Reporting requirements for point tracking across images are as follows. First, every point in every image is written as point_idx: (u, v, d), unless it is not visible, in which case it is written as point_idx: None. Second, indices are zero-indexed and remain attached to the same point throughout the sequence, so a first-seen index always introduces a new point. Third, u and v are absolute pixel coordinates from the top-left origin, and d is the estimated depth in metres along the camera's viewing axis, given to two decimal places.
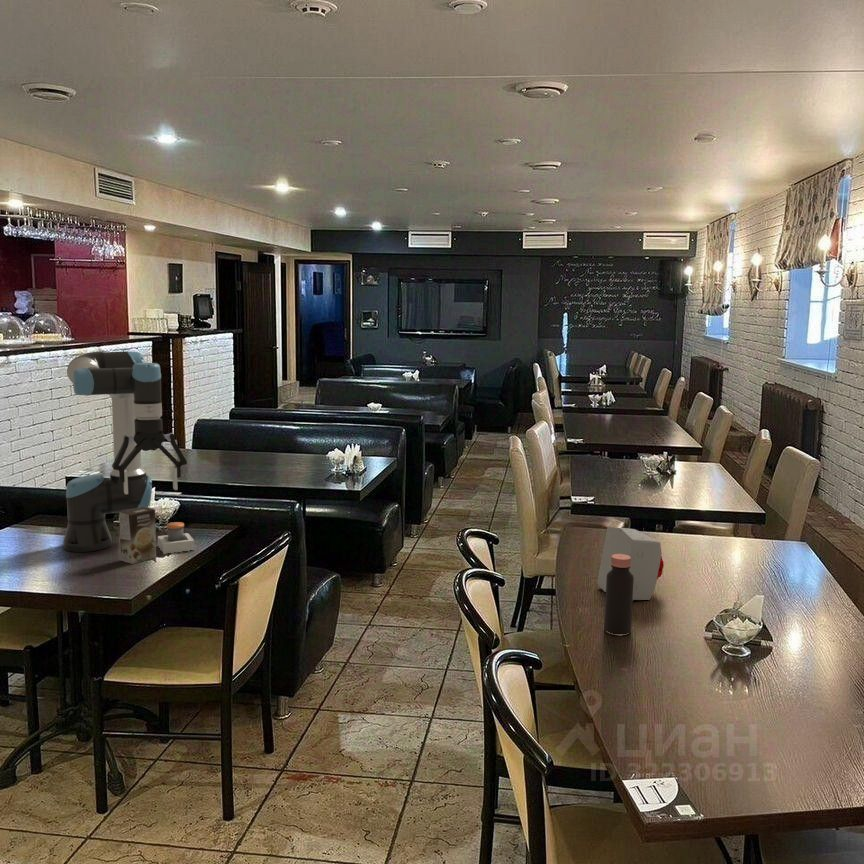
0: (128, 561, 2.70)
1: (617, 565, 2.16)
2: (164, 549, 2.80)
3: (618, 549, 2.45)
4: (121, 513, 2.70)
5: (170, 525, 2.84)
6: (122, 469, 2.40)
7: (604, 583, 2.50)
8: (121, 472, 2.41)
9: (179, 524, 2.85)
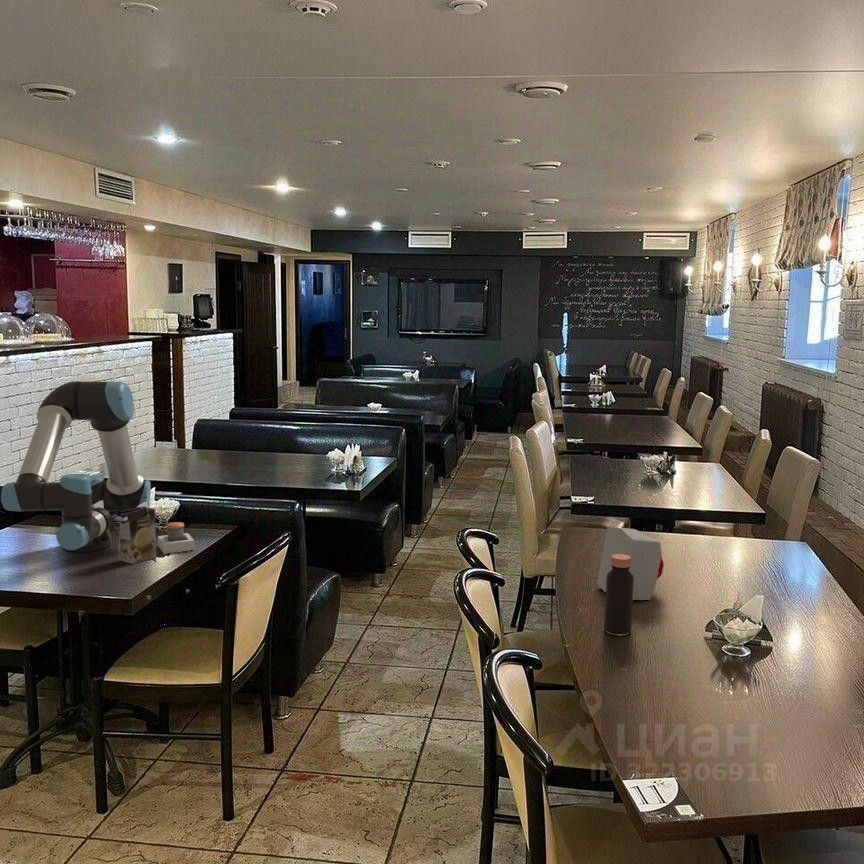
0: (128, 561, 2.70)
1: (617, 565, 2.16)
2: (164, 549, 2.80)
3: (618, 549, 2.45)
4: None
5: (170, 525, 2.84)
6: None
7: (604, 583, 2.50)
8: None
9: (179, 524, 2.85)
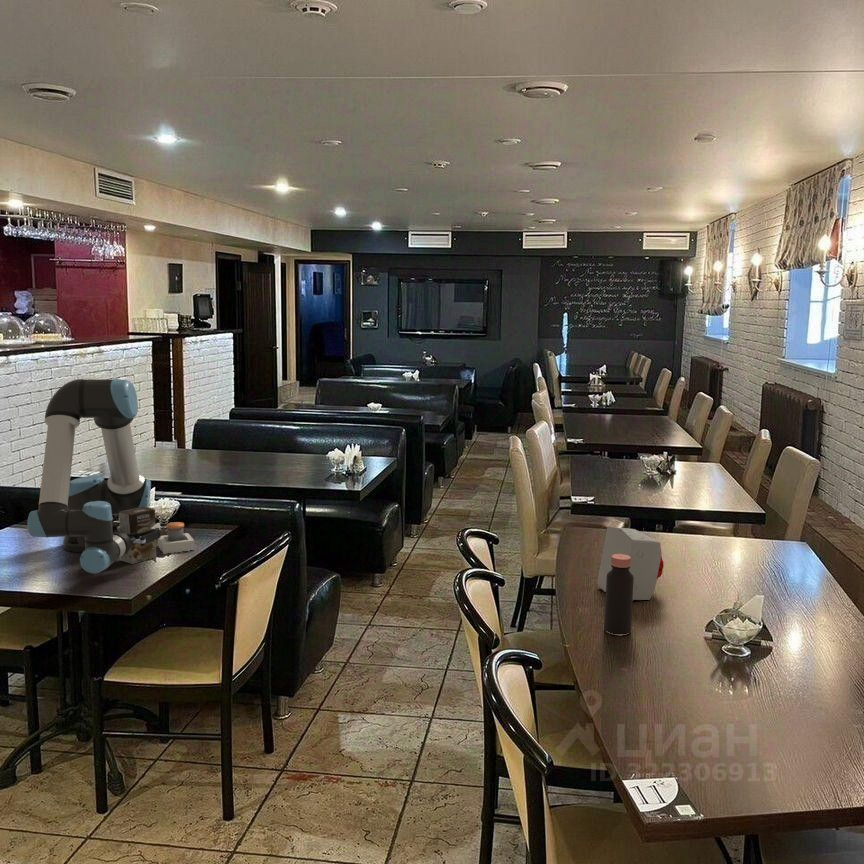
0: (128, 561, 2.70)
1: (617, 565, 2.16)
2: (164, 549, 2.80)
3: (618, 549, 2.45)
4: (121, 513, 2.70)
5: (170, 525, 2.84)
6: None
7: (604, 583, 2.50)
8: None
9: (179, 524, 2.85)
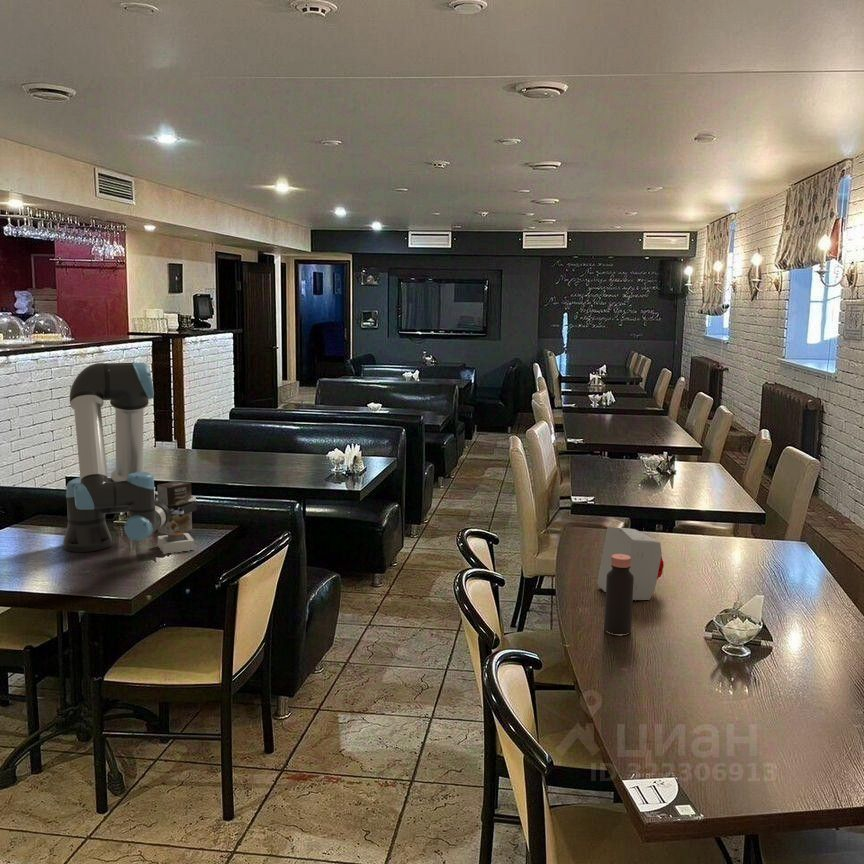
0: (166, 532, 2.81)
1: (617, 565, 2.16)
2: (164, 549, 2.80)
3: (618, 549, 2.45)
4: (159, 486, 2.81)
5: None
6: None
7: (604, 583, 2.50)
8: None
9: None
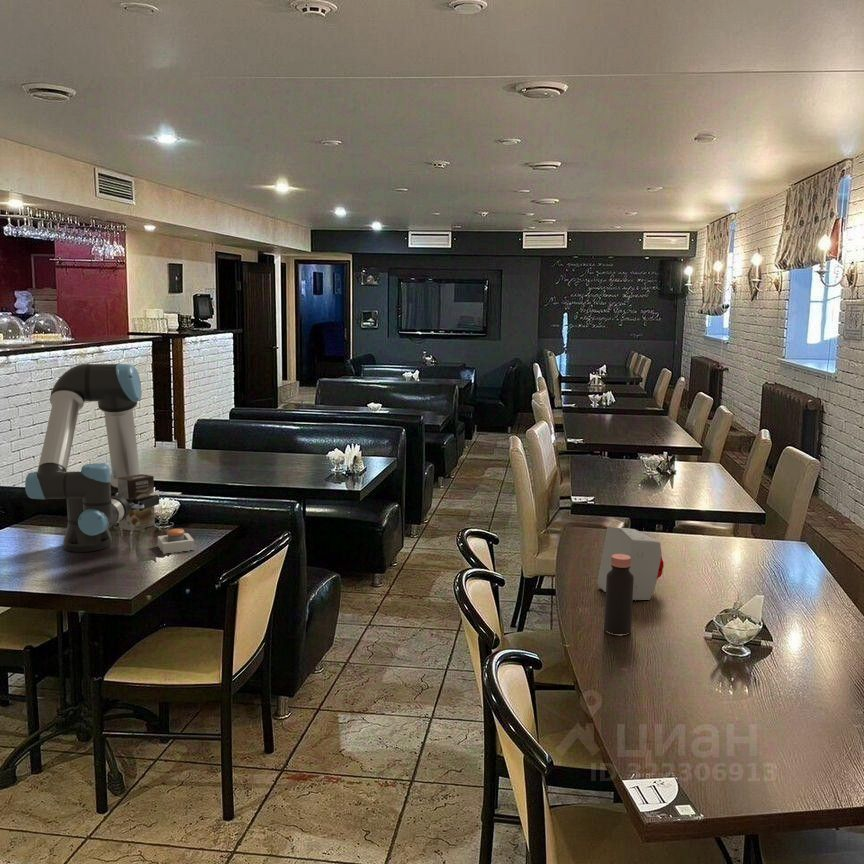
0: (126, 528, 2.68)
1: (617, 565, 2.16)
2: (164, 549, 2.80)
3: (618, 549, 2.45)
4: (119, 479, 2.68)
5: (170, 532, 2.84)
6: None
7: (604, 583, 2.50)
8: None
9: (179, 531, 2.85)
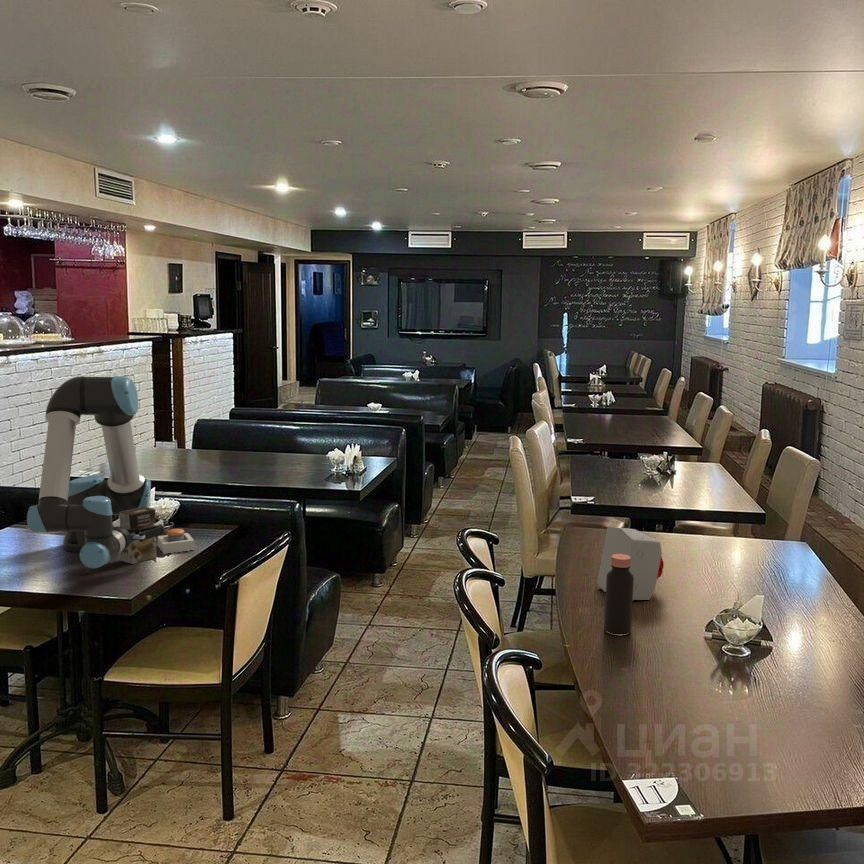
0: (128, 561, 2.70)
1: (617, 565, 2.16)
2: (164, 549, 2.80)
3: (618, 549, 2.45)
4: (121, 513, 2.69)
5: (170, 532, 2.84)
6: None
7: (604, 583, 2.50)
8: None
9: (179, 531, 2.85)
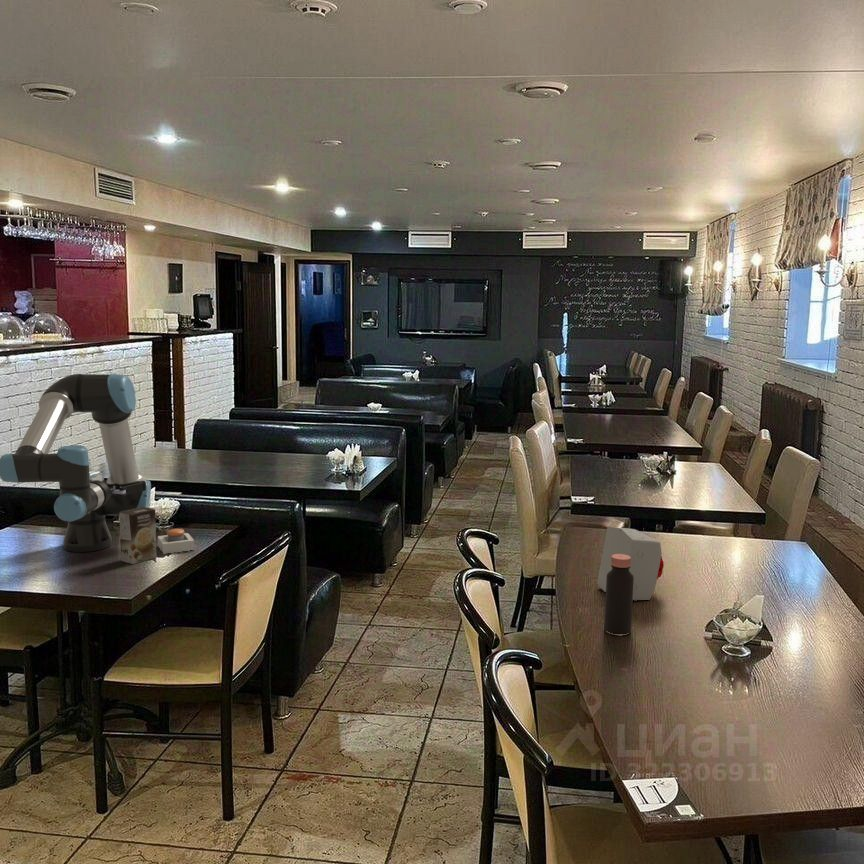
0: (128, 561, 2.70)
1: (617, 565, 2.16)
2: (164, 549, 2.80)
3: (618, 549, 2.45)
4: (121, 513, 2.69)
5: (170, 532, 2.84)
6: None
7: (604, 583, 2.50)
8: None
9: (179, 531, 2.85)
